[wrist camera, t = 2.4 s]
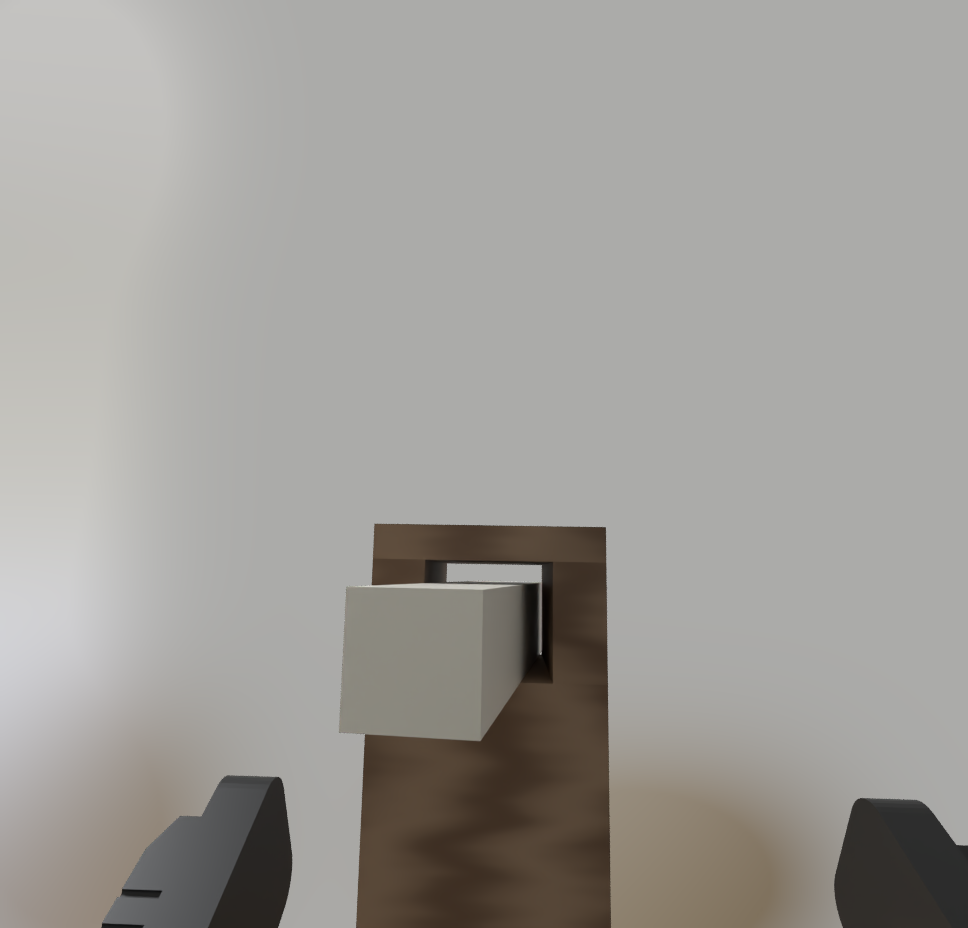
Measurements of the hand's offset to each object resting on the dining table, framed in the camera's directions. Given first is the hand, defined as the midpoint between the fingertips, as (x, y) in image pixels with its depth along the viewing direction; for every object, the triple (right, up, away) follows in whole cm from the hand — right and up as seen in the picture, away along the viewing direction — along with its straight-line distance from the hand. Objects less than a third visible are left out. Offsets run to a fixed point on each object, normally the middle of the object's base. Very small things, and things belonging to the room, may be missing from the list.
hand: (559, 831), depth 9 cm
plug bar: (-1, -4, +19) cm, 20 cm away
